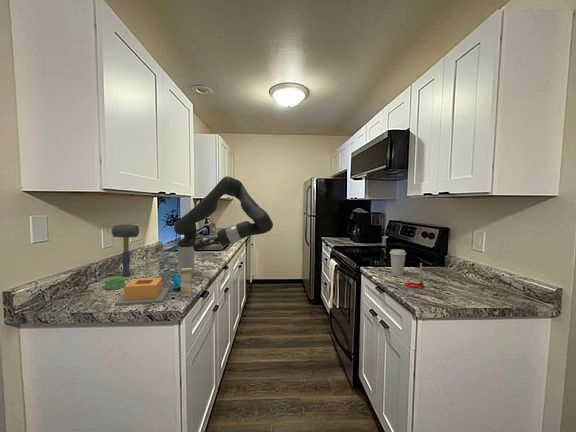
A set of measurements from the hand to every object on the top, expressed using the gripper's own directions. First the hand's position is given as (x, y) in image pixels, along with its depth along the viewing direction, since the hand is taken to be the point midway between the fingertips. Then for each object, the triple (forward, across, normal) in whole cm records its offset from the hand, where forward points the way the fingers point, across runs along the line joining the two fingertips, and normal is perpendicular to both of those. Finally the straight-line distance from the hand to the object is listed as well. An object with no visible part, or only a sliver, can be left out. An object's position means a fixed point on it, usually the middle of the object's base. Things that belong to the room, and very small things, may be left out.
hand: (197, 248), depth 127 cm
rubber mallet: (+57, -30, -3) cm, 64 cm away
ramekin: (+51, -10, +2) cm, 52 cm away
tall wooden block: (+14, -4, +18) cm, 23 cm away
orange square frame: (+30, +2, +12) cm, 32 cm away
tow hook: (-92, -30, +59) cm, 113 cm away
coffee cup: (-92, -55, +56) cm, 121 cm away
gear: (+20, -11, +15) cm, 27 cm away
